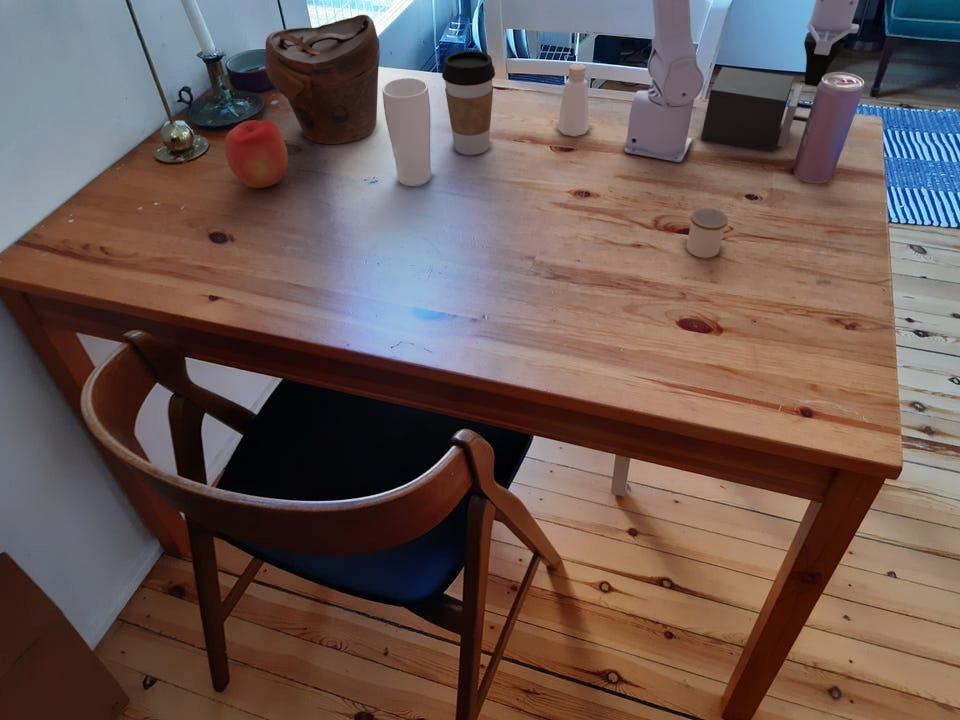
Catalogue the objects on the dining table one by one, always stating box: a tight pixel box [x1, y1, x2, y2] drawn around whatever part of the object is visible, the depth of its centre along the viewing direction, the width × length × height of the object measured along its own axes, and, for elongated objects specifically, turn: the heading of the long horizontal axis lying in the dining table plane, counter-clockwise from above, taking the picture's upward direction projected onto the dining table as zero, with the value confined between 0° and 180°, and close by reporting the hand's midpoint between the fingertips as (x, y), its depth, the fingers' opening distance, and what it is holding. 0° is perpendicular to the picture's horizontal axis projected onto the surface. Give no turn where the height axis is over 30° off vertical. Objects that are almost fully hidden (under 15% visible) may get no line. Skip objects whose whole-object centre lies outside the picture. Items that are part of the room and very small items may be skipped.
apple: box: [224, 119, 289, 189], centre depth 111 cm, size 10×10×10 cm
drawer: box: [776, 83, 813, 147], centre depth 117 cm, size 15×8×7 cm, turn 66°
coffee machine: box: [700, 66, 795, 152], centre depth 118 cm, size 12×10×9 cm
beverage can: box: [792, 71, 865, 184], centre depth 106 cm, size 6×6×15 cm
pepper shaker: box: [557, 62, 590, 137], centre depth 120 cm, size 5×5×11 cm
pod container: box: [685, 207, 729, 259], centre depth 96 cm, size 5×5×5 cm
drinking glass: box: [381, 77, 432, 187], centre depth 108 cm, size 7×7×15 cm
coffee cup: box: [441, 50, 496, 156], centre depth 115 cm, size 8×8×15 cm
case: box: [264, 14, 381, 145], centre depth 120 cm, size 18×20×18 cm
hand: (811, 84), depth 112 cm, fingers closed
